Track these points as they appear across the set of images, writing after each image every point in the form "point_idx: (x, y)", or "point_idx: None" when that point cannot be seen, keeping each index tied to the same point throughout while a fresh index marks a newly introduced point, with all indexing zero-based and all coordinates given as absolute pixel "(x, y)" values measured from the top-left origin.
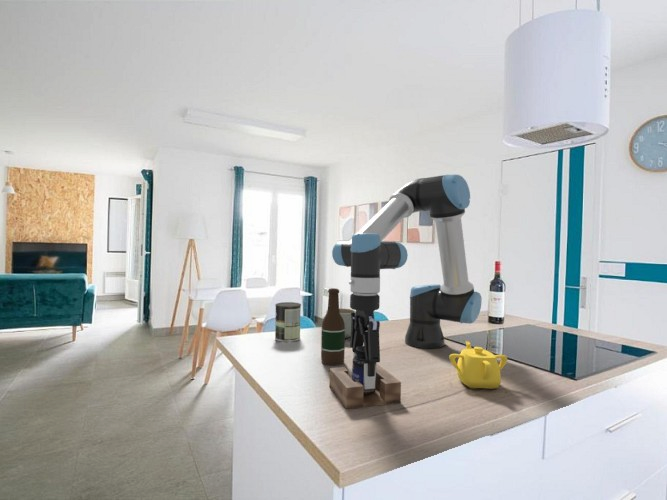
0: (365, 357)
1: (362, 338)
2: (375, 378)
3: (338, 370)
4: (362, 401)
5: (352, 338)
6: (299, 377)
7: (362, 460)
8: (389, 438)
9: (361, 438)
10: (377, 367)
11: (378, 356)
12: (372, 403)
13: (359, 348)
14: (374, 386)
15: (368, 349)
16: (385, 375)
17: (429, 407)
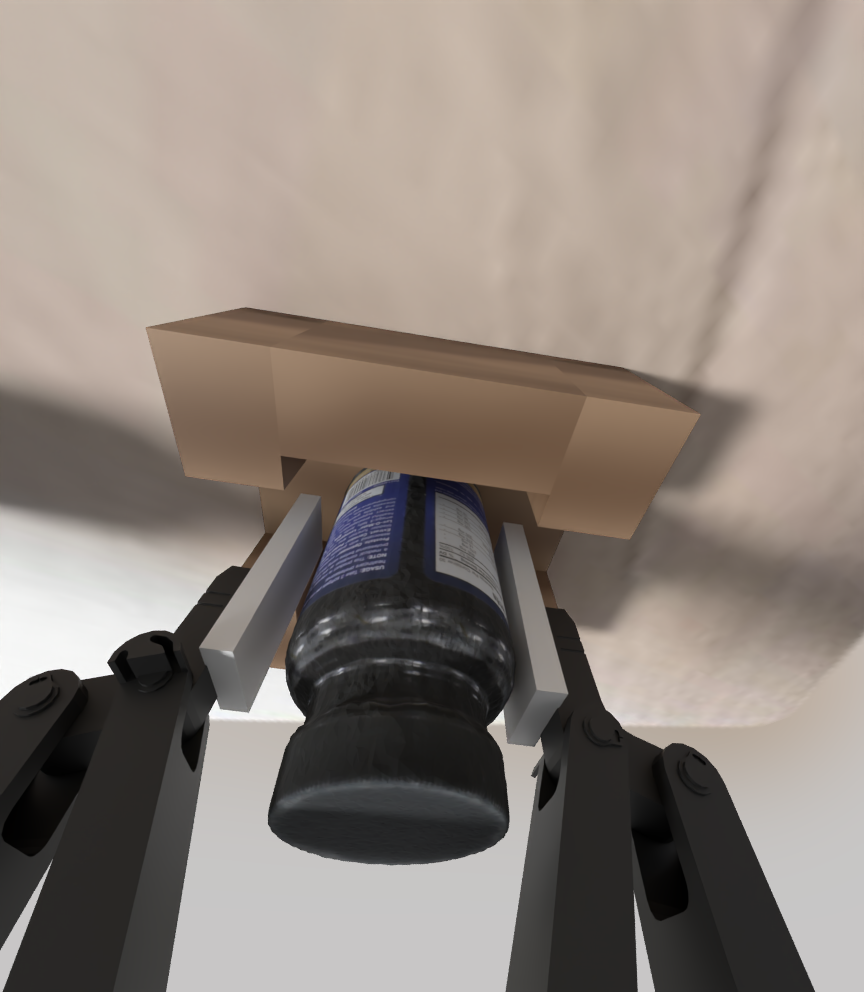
0: (534, 801)
1: (137, 955)
2: (473, 518)
3: (281, 645)
4: (546, 582)
5: (24, 896)
6: (150, 630)
7: (800, 691)
8: (804, 598)
9: (720, 654)
10: (259, 391)
11: (738, 846)
12: (561, 533)
13: (363, 849)
14: (524, 536)
15: (653, 977)
16: (488, 444)
17: (836, 202)
